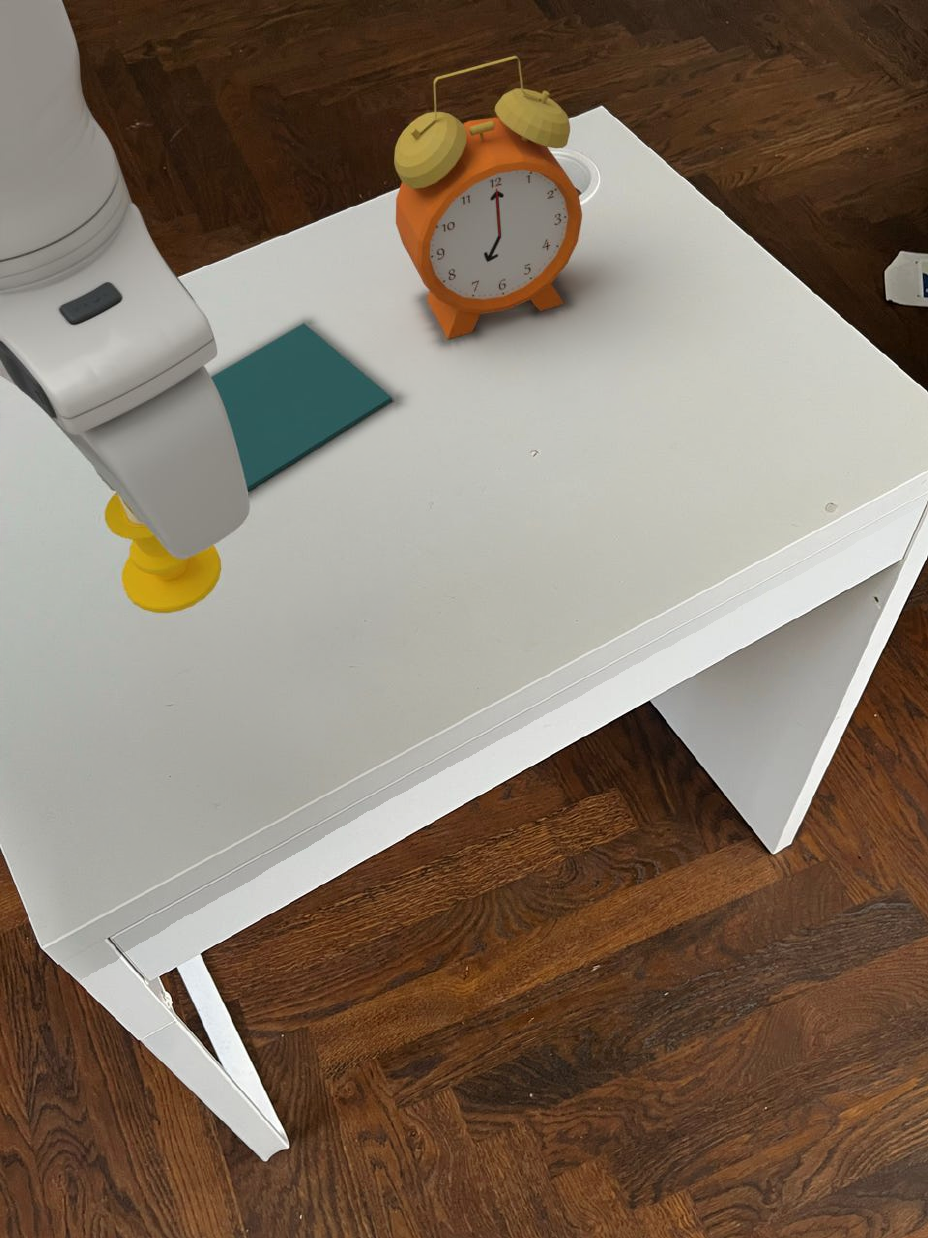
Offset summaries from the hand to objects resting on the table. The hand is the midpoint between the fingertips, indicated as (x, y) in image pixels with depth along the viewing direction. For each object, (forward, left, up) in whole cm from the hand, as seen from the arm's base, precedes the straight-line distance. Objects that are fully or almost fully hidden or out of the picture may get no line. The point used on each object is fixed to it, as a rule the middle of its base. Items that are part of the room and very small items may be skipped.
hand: (136, 493), depth 56 cm
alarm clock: (+37, +19, -22) cm, 47 cm away
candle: (0, 0, -7) cm, 7 cm away
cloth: (+15, +22, -22) cm, 34 cm away
